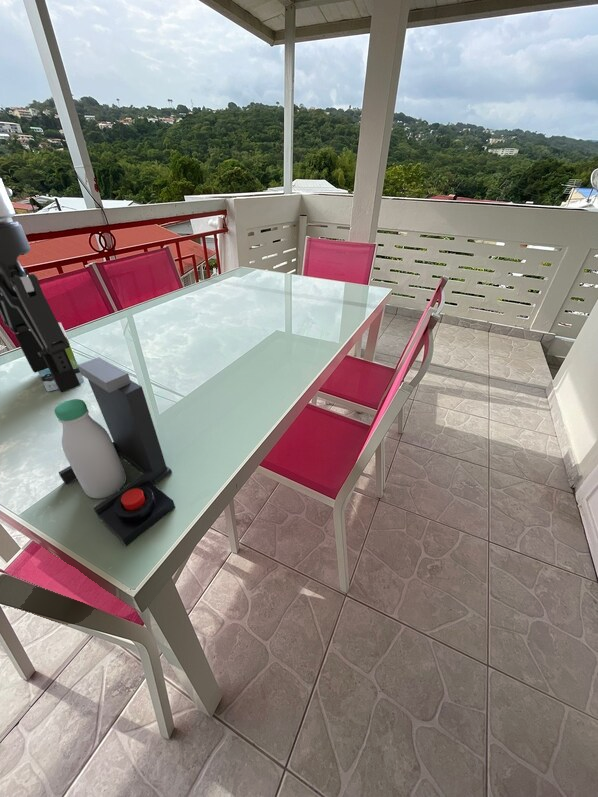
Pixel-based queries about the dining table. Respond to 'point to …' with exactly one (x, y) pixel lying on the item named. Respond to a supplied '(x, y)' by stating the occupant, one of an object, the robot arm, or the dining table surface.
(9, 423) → the dining table surface
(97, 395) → the drink machine
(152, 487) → the switch block
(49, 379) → the tea box
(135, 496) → the stop button
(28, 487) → the dining table surface
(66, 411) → the milk bottle
